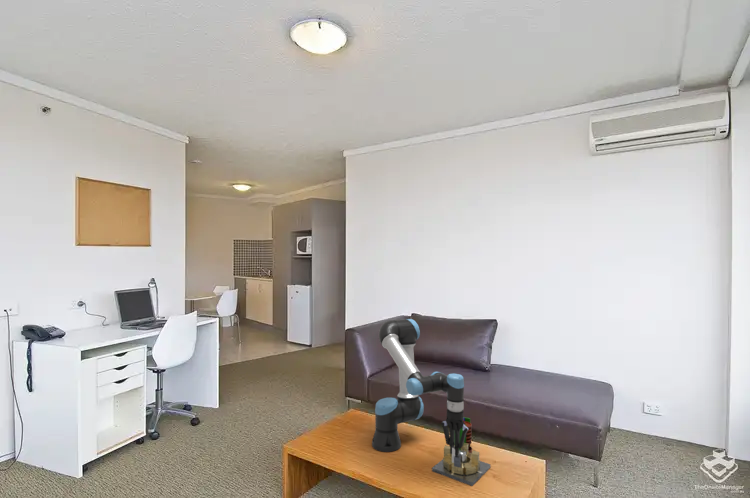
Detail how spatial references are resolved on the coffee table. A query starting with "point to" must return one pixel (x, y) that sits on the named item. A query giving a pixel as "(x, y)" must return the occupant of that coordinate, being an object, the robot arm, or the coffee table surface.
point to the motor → (468, 434)
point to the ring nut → (457, 466)
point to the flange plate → (466, 479)
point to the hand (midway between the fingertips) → (454, 461)
